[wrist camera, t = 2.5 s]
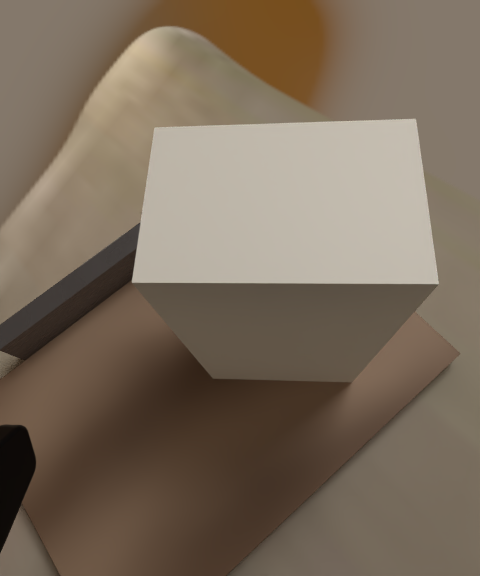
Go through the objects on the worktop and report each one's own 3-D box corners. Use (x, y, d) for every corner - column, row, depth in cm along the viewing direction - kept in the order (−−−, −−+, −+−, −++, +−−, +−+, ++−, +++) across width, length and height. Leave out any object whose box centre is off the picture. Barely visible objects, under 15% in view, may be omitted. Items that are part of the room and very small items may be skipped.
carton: (351, 382, 18) (438, 283, 8) (212, 378, 19) (131, 282, 9) (347, 291, 20) (415, 113, 10) (218, 290, 20) (155, 122, 10)
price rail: (255, 198, 23) (251, 163, 21) (36, 364, 21) (-1, 350, 18) (240, 183, 24) (234, 147, 21) (24, 345, 21) (-14, 327, 19)
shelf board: (451, 358, 19) (460, 353, 18) (125, 667, 16) (115, 679, 15) (268, 187, 24) (268, 176, 23) (-17, 405, 20) (-32, 403, 19)
